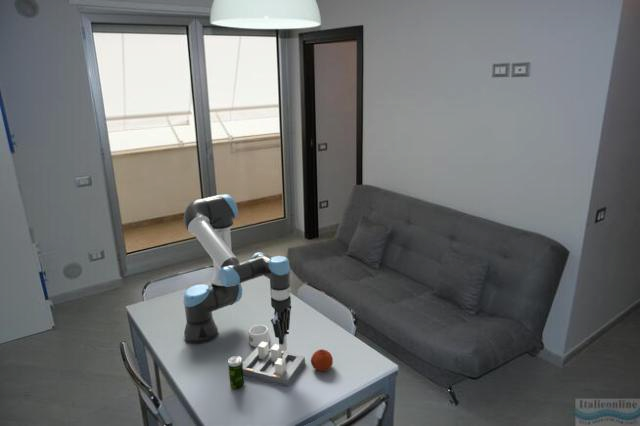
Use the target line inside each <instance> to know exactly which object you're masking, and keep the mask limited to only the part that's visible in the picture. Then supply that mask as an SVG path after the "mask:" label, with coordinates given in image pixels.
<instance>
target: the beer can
mask: <svg viewBox="0 0 640 426" xmlns="http://www.w3.org/2000/svg"><path fill="white" fill-rule="evenodd" d="M227 366H228V367H227V368H228V376H229V377H228V378H229V386H230V388H231V390H232V391H235V392H236V391H241V390H243V389H244V387H245V379H244V378H245V376H244V374H243V359H242V357H241V356H238V355H234V356H231V357H229V358H228V362H227Z"/></svg>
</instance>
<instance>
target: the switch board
mask: <svg viewBox="0 0 640 426" xmlns="http://www.w3.org/2000/svg"><path fill="white" fill-rule="evenodd" d="M281 351H282V357H281V359H285V360H286V372H285V373H284V375H283V376H282V377H281V376H278V375H275V362H272V361H271V348H269V354H268V355H267V356H266V358H265V359H264V360H263V359H259V355H258V347H255V349H254V350H253V351H252V352H251V353H250V354H249V355H248V357H247V358H246V359H245V360H244V361H242V363H243V374H244V377H248V378H251V379H255V380H260V381H262V382H263V381H264V382H267V383H270V384H271V383H272V384H276V385H279V386H283V387H289V386H291V383H292V382H293V381H294V379H295V378H296V376H297V375H298V373H299V372H300V371H301V369H302V368H303V366H304V365H305V364H306V357H305V356H304V355H299V354H295V353H290V352H286V351H283V350H281Z"/></svg>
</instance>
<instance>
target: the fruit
mask: <svg viewBox="0 0 640 426" xmlns="http://www.w3.org/2000/svg"><path fill="white" fill-rule="evenodd" d="M310 364H311V366H312V368H313V369H314V370H317V371H319V372H325V371H329V370H330V369H331V368H332V367H333V364H334V361H333V356H332V354H331V352H330V351H328V350H326V349H323V348H322V349H318V350H316V351H315V352H314V353H313V354H312V356H311V359H310Z"/></svg>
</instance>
